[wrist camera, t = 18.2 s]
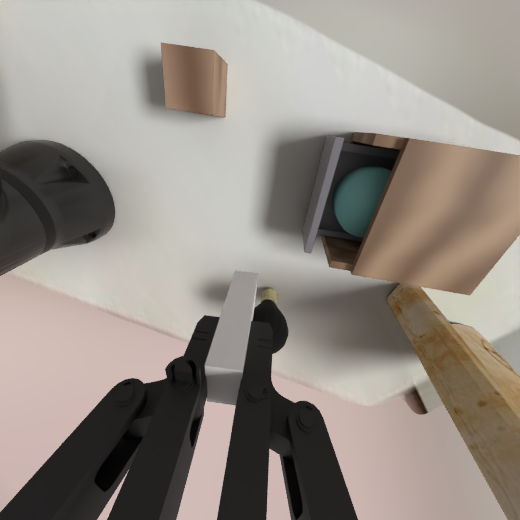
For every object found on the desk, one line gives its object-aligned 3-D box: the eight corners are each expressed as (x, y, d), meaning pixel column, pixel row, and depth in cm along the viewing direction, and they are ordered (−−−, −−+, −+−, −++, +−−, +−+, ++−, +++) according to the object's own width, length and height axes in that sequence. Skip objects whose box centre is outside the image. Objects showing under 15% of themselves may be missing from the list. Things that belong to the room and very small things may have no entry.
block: (185, 111, 27) (165, 108, 23) (183, 57, 25) (160, 42, 20) (225, 117, 27) (213, 115, 23) (227, 63, 24) (214, 50, 20)
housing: (321, 238, 34) (330, 270, 26) (353, 132, 26) (379, 133, 19) (428, 256, 33) (469, 295, 25) (491, 153, 26) (577, 164, 18)
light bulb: (250, 275, 39) (236, 328, 28) (289, 277, 38) (289, 333, 28) (252, 304, 42) (239, 361, 32) (288, 307, 41) (287, 366, 31)
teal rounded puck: (383, 230, 31) (393, 241, 28) (325, 223, 31) (329, 233, 28) (409, 168, 27) (424, 174, 24) (341, 161, 27) (347, 165, 24)
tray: (302, 231, 33) (304, 252, 27) (326, 134, 26) (336, 136, 21) (423, 252, 32) (450, 277, 27) (479, 158, 26) (530, 166, 20)
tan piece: (493, 345, 40) (847, 727, 15) (458, 360, 43) (701, 700, 18) (414, 272, 35) (762, 680, 9) (379, 294, 38) (569, 652, 12)
